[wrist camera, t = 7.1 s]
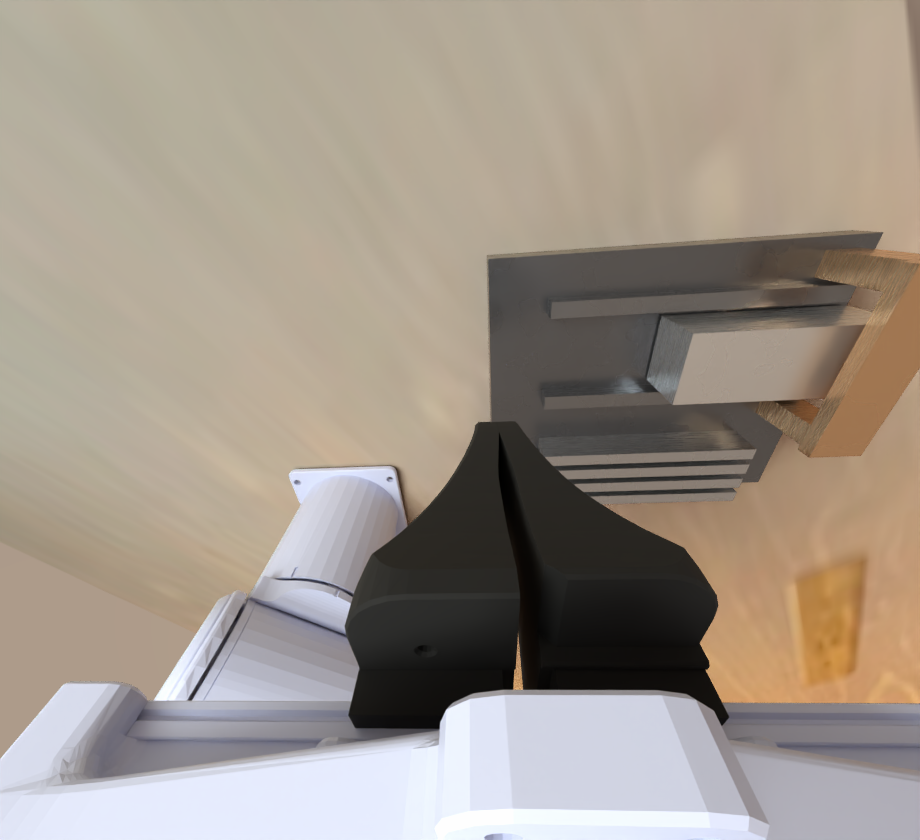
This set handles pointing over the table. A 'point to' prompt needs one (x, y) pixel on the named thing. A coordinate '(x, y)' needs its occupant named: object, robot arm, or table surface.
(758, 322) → the bar
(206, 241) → the table surface
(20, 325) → the table surface
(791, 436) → the base
